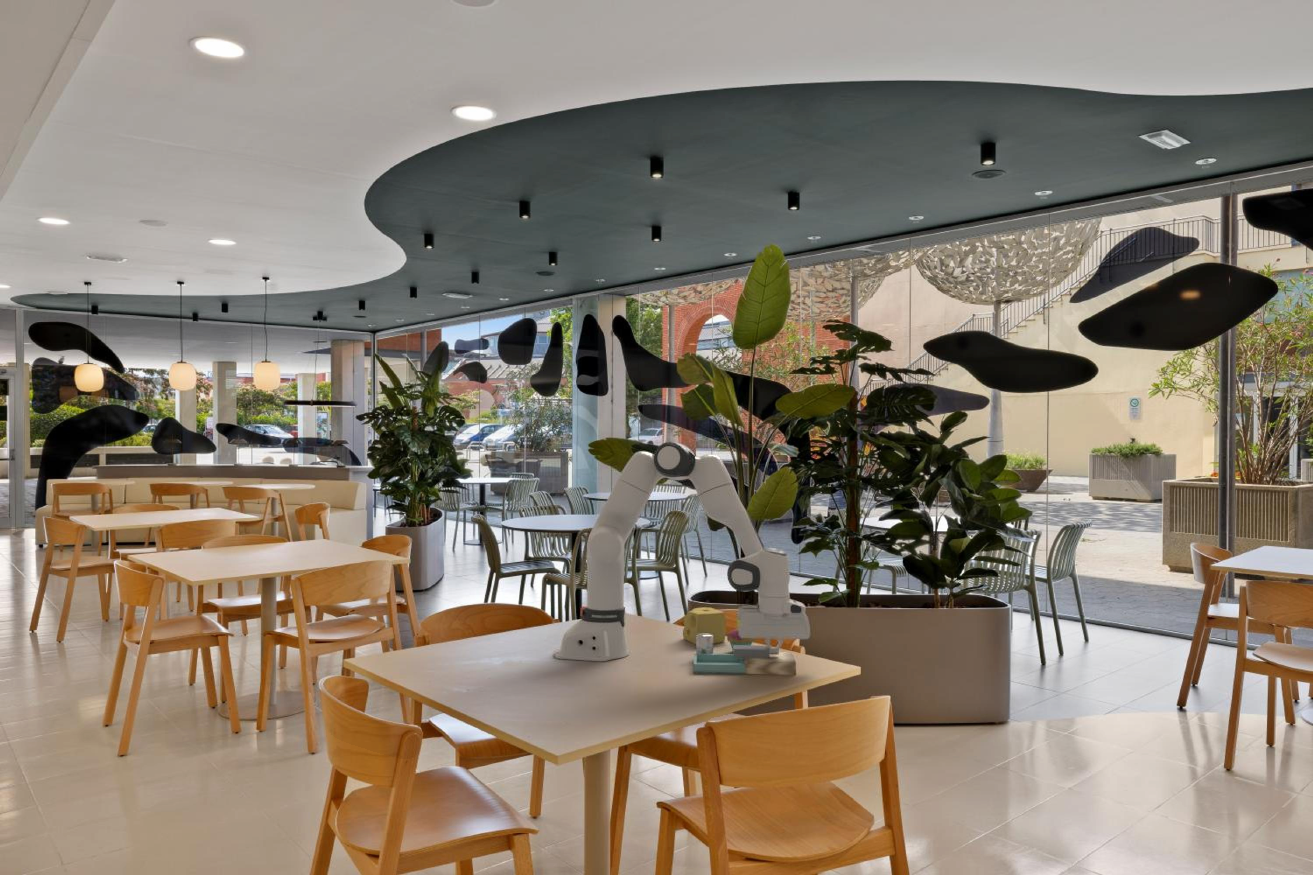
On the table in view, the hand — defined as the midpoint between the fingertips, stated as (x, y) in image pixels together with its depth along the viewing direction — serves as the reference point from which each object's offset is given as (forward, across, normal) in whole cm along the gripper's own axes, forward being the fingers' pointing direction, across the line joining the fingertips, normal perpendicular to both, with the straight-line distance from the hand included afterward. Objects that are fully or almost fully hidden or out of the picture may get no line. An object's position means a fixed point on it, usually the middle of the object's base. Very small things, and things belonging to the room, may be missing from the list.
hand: (773, 653), depth 257 cm
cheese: (+4, -20, +35) cm, 40 cm away
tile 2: (+1, -4, 0) cm, 4 cm away
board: (+4, -1, 0) cm, 4 cm away
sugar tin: (+4, -20, +11) cm, 23 cm away
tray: (+4, -16, 0) cm, 16 cm away
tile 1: (+1, -9, 0) cm, 9 cm away
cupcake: (+4, -9, +20) cm, 22 cm away
